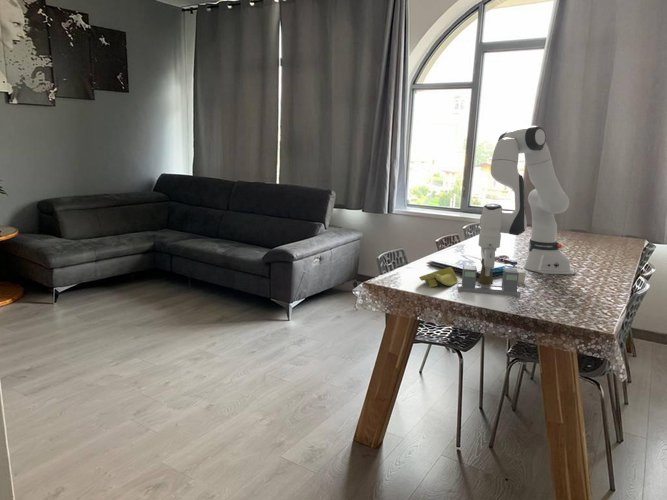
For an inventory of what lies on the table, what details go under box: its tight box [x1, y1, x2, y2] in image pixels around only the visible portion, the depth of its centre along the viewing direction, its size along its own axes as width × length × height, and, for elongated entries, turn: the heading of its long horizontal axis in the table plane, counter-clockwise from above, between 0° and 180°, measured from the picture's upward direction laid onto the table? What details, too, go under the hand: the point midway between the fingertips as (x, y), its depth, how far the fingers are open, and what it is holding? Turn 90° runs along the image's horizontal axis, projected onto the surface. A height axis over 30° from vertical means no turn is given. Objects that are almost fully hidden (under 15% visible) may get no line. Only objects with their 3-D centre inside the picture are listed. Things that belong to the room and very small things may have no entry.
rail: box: [457, 281, 521, 297], centre depth 201 cm, size 24×7×2 cm, turn 78°
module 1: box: [461, 264, 478, 289], centre depth 201 cm, size 5×7×8 cm
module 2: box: [501, 267, 519, 293], centre depth 198 cm, size 5×7×8 cm
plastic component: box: [419, 266, 459, 288], centre depth 209 cm, size 20×7×10 cm
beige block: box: [516, 268, 526, 284], centre depth 216 cm, size 4×5×5 cm
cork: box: [477, 258, 494, 285], centre depth 212 cm, size 6×6×11 cm
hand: (486, 273), depth 213 cm, fingers open, 6 cm apart
